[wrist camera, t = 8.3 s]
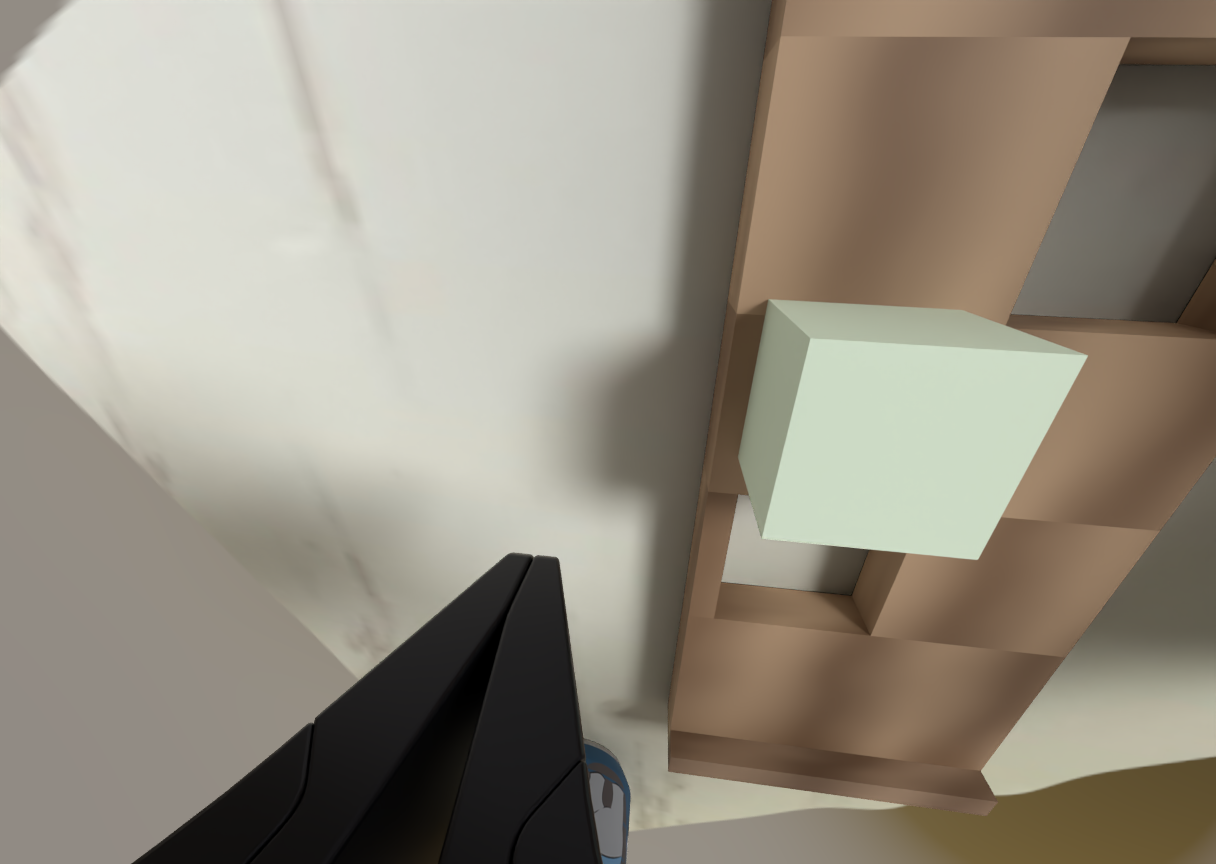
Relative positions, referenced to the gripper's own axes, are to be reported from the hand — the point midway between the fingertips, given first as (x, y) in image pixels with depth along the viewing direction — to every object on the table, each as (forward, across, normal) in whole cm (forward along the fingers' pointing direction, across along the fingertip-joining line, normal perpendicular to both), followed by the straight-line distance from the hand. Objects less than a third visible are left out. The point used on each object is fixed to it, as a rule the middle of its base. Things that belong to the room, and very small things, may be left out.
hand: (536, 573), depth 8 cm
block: (+8, -7, -1) cm, 10 cm away
